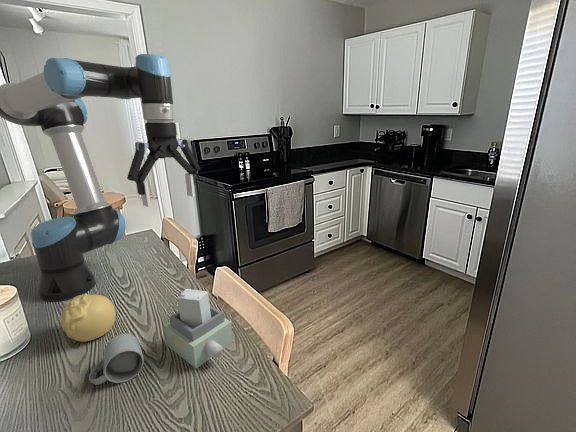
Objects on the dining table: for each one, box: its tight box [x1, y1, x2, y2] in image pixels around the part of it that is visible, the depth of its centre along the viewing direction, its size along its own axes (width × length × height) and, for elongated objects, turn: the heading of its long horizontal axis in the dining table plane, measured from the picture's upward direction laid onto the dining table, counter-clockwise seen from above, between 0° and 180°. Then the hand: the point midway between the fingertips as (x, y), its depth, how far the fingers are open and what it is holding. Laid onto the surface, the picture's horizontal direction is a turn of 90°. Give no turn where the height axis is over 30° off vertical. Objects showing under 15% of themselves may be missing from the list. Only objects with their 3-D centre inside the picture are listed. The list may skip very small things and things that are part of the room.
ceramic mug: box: [88, 333, 145, 386], centre depth 67 cm, size 11×8×8 cm
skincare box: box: [176, 288, 211, 329], centre depth 74 cm, size 6×4×12 cm
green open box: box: [163, 304, 234, 369], centre depth 75 cm, size 15×11×8 cm
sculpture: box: [59, 293, 117, 343], centre depth 79 cm, size 11×12×11 cm
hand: (170, 200), depth 86 cm, fingers open, 13 cm apart
